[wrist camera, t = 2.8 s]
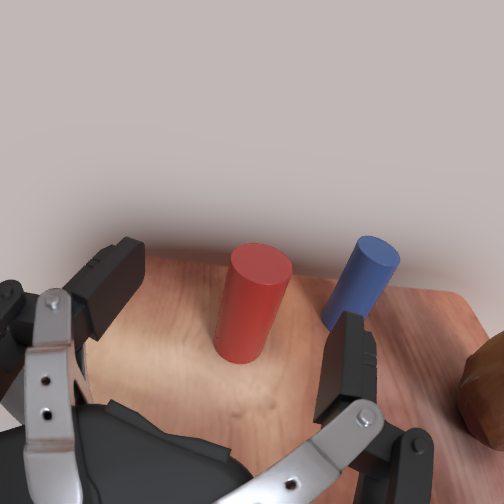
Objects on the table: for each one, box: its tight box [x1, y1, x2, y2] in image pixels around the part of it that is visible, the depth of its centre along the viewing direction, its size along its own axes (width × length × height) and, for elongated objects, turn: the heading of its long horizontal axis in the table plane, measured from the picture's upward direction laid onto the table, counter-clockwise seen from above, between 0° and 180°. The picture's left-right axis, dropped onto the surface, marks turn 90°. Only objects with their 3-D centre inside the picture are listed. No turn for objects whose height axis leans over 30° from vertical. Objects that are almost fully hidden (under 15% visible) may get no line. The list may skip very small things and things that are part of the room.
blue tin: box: [322, 236, 400, 331], centre depth 33 cm, size 5×5×11 cm
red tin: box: [214, 243, 293, 364], centre depth 28 cm, size 5×5×11 cm
